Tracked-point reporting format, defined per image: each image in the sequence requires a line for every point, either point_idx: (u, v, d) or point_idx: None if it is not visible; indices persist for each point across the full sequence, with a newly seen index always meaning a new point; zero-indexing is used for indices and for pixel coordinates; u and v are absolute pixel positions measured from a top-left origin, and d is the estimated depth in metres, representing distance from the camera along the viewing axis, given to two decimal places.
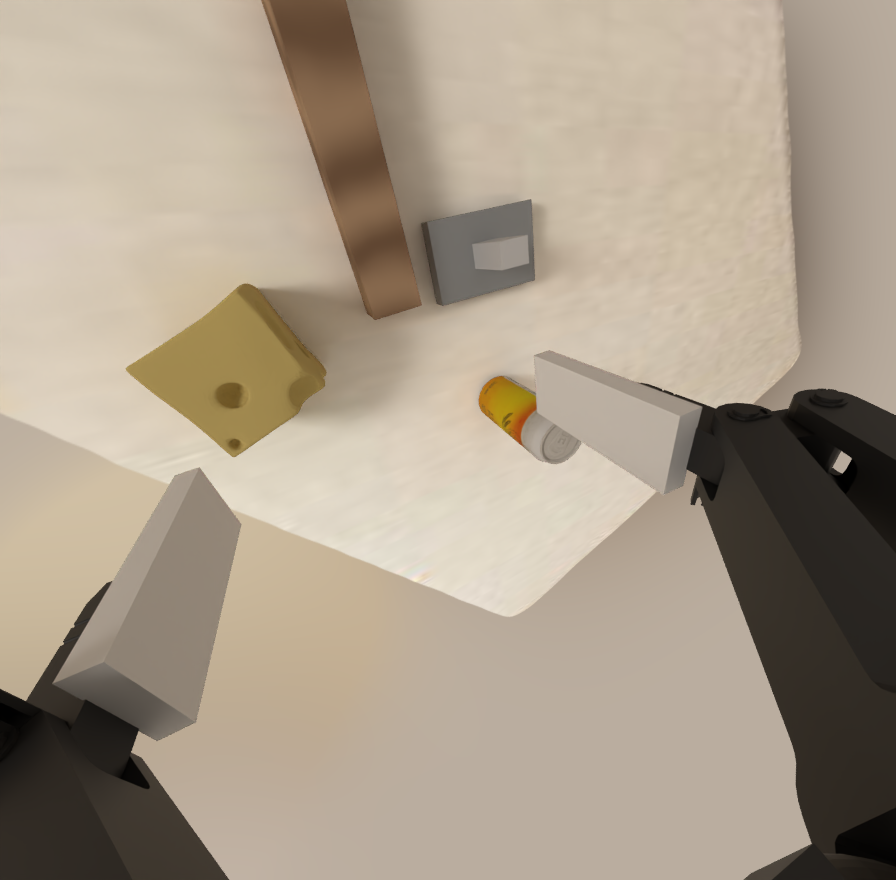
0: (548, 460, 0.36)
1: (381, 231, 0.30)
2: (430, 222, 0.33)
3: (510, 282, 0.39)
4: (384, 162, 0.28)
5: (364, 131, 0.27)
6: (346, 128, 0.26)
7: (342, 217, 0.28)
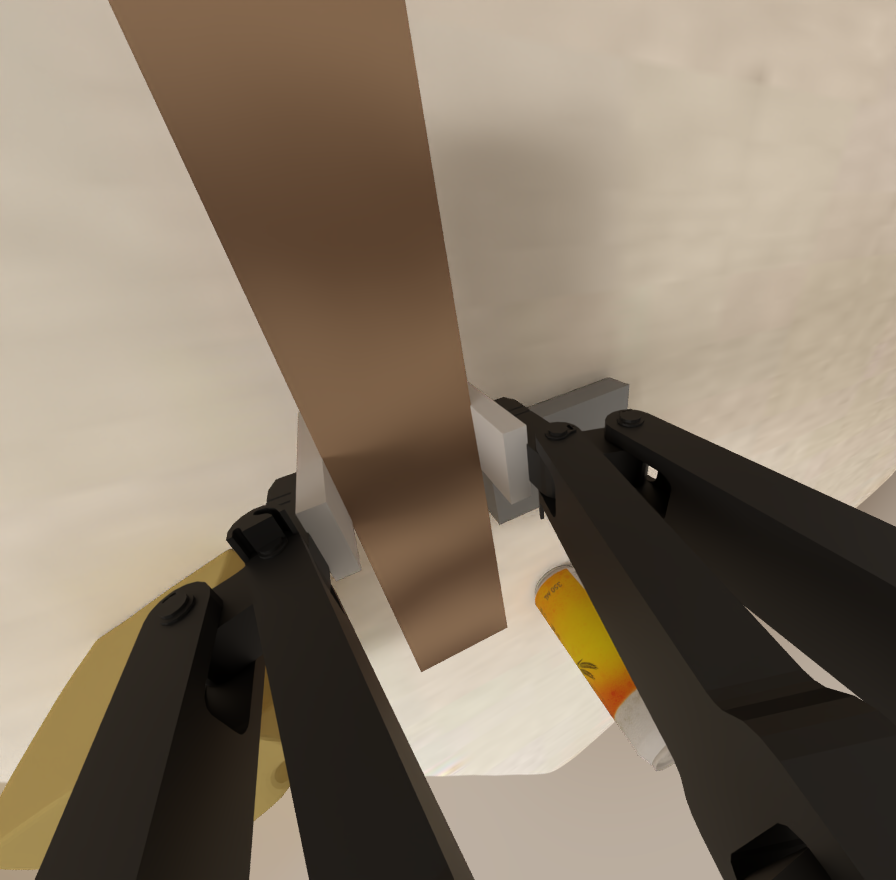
0: (660, 764, 0.25)
1: (452, 557, 0.14)
2: None
3: None
4: (475, 455, 0.12)
5: (439, 413, 0.11)
6: (398, 416, 0.10)
7: (372, 561, 0.13)
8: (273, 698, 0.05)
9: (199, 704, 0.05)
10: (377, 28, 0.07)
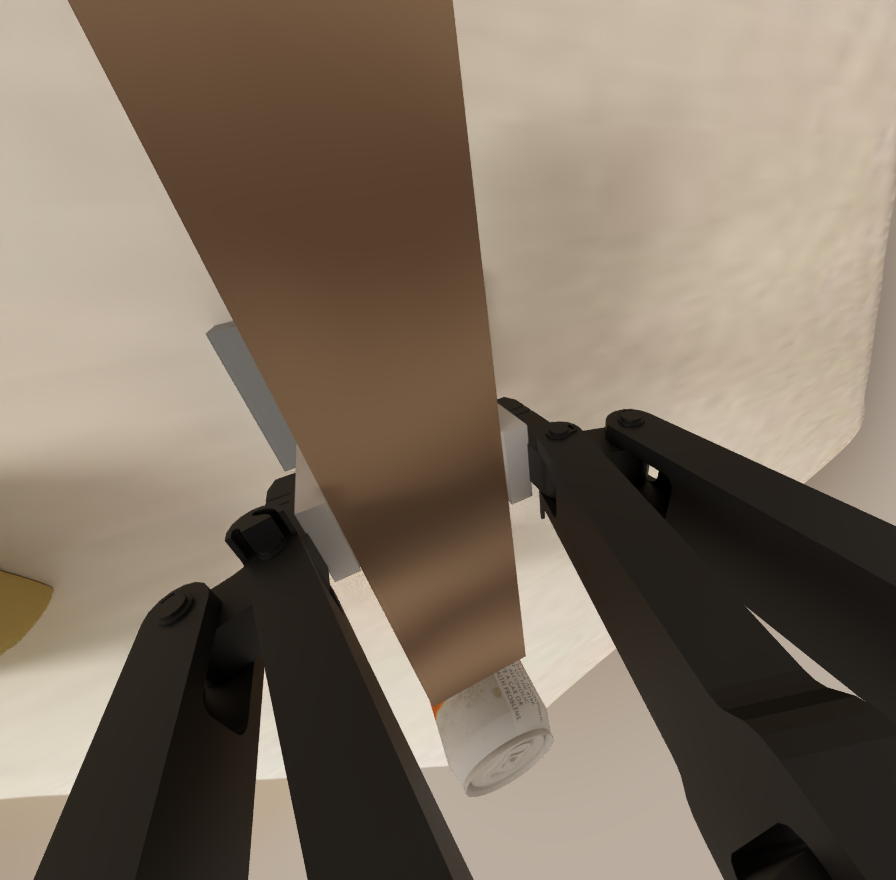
0: (485, 786, 0.18)
1: (471, 592, 0.13)
2: (214, 334, 0.15)
3: None
4: (502, 483, 0.10)
5: (464, 439, 0.09)
6: (415, 444, 0.09)
7: (383, 603, 0.11)
8: (271, 700, 0.05)
9: (197, 705, 0.05)
10: None
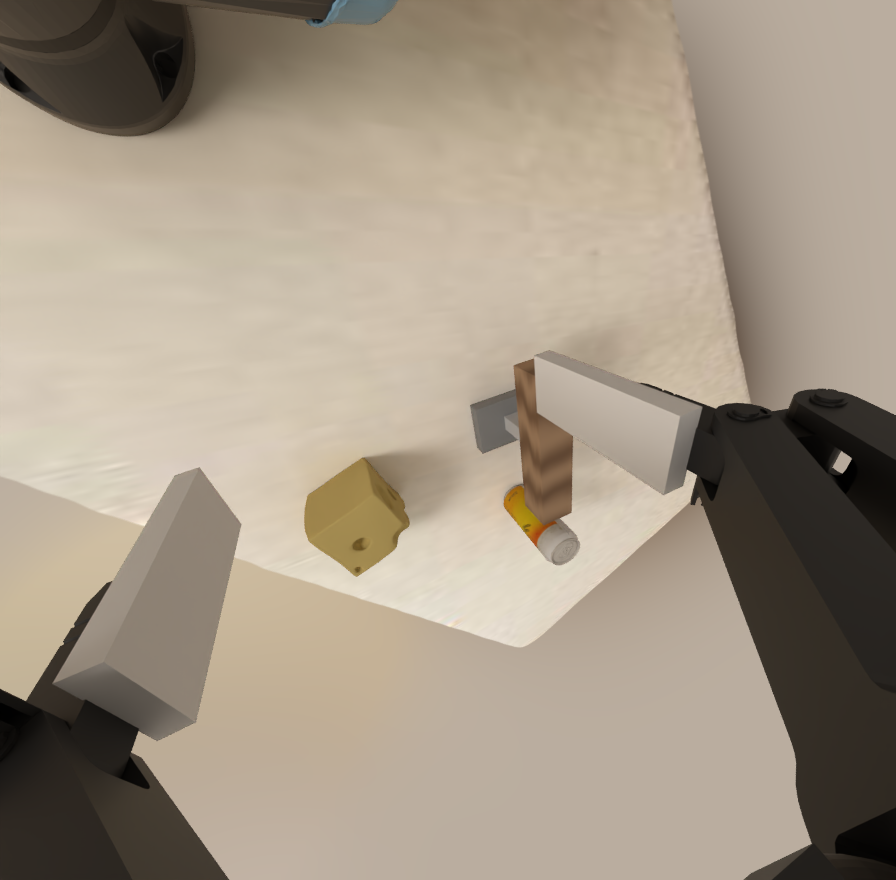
0: (556, 563, 0.53)
1: (560, 482, 0.47)
2: (477, 410, 0.50)
3: None
4: (571, 451, 0.45)
5: (565, 441, 0.44)
6: (557, 442, 0.43)
7: (542, 481, 0.46)
8: None
9: None
10: None
